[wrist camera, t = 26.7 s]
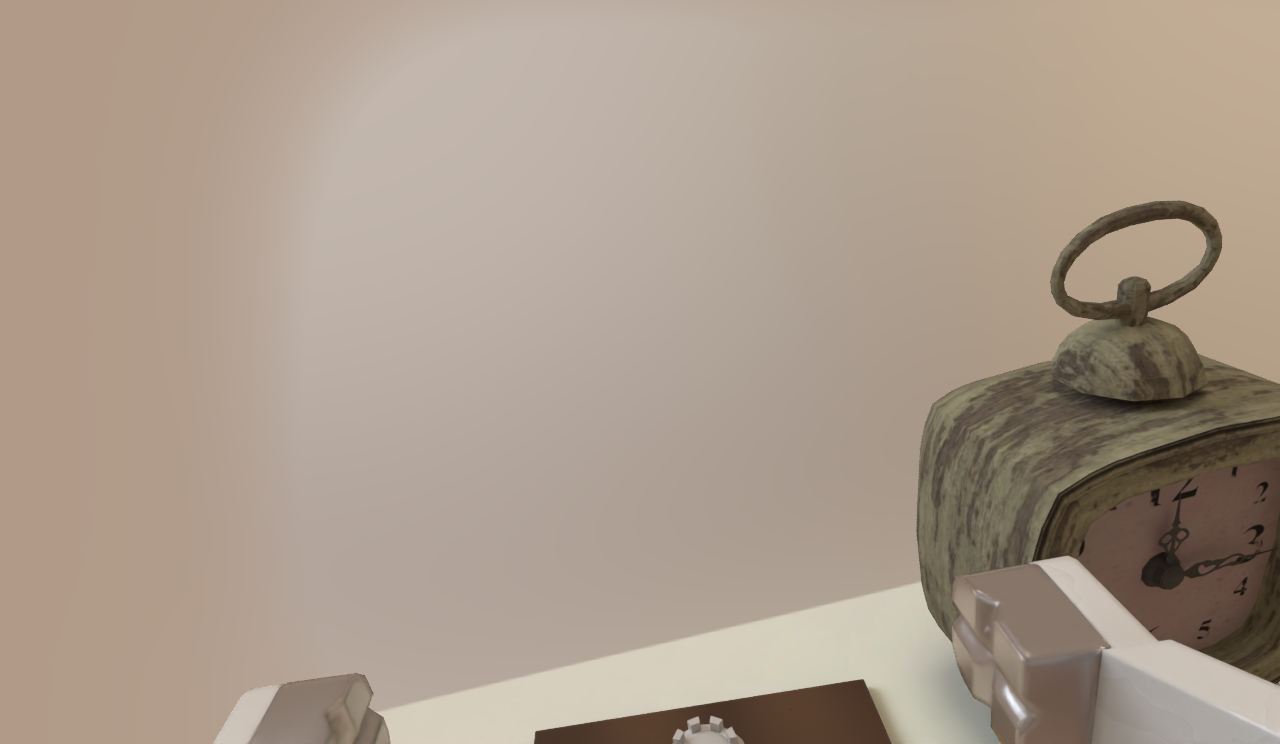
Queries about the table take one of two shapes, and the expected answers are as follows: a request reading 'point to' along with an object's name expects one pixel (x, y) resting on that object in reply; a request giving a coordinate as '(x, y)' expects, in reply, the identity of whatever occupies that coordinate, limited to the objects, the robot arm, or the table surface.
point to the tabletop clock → (1118, 468)
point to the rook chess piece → (706, 733)
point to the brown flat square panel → (749, 720)
